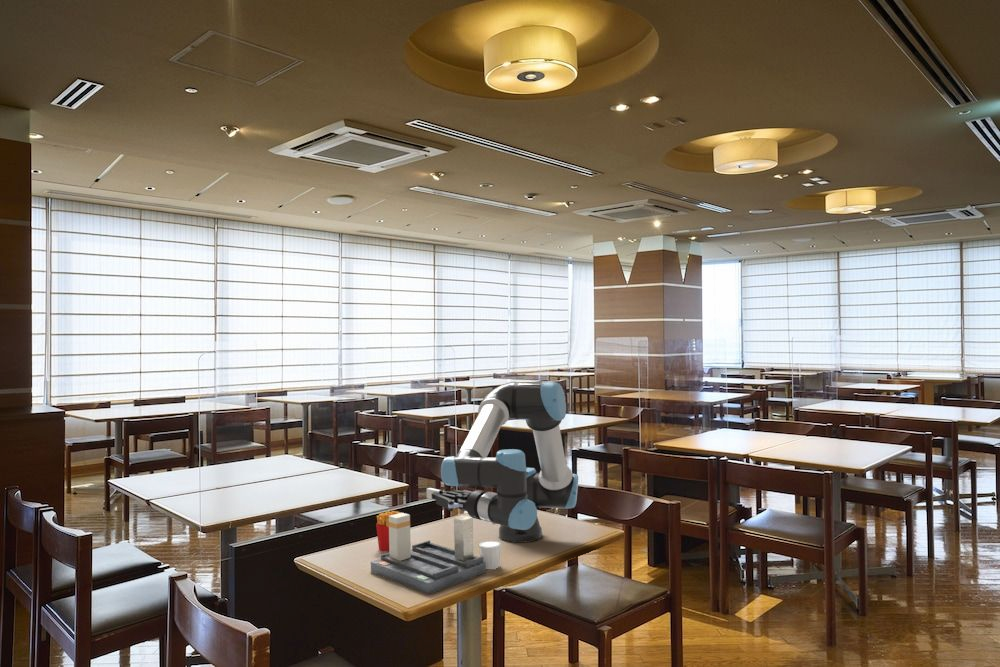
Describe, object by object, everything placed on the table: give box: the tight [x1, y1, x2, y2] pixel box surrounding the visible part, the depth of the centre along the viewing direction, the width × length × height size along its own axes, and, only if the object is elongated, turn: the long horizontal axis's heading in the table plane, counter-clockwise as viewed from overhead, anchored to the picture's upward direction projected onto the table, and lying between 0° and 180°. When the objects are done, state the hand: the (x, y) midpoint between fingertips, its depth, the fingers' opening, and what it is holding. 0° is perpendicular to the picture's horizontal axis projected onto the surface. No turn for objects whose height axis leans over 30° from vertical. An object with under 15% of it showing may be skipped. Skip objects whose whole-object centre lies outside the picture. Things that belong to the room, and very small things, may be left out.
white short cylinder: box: [478, 540, 502, 570], centre depth 201 cm, size 7×7×7 cm
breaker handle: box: [388, 512, 412, 561], centre depth 201 cm, size 5×4×13 cm
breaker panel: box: [370, 515, 487, 595], centre depth 197 cm, size 22×27×16 cm
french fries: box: [375, 510, 401, 552], centre depth 222 cm, size 8×4×12 cm, turn 129°
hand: (428, 492), depth 191 cm, fingers closed
